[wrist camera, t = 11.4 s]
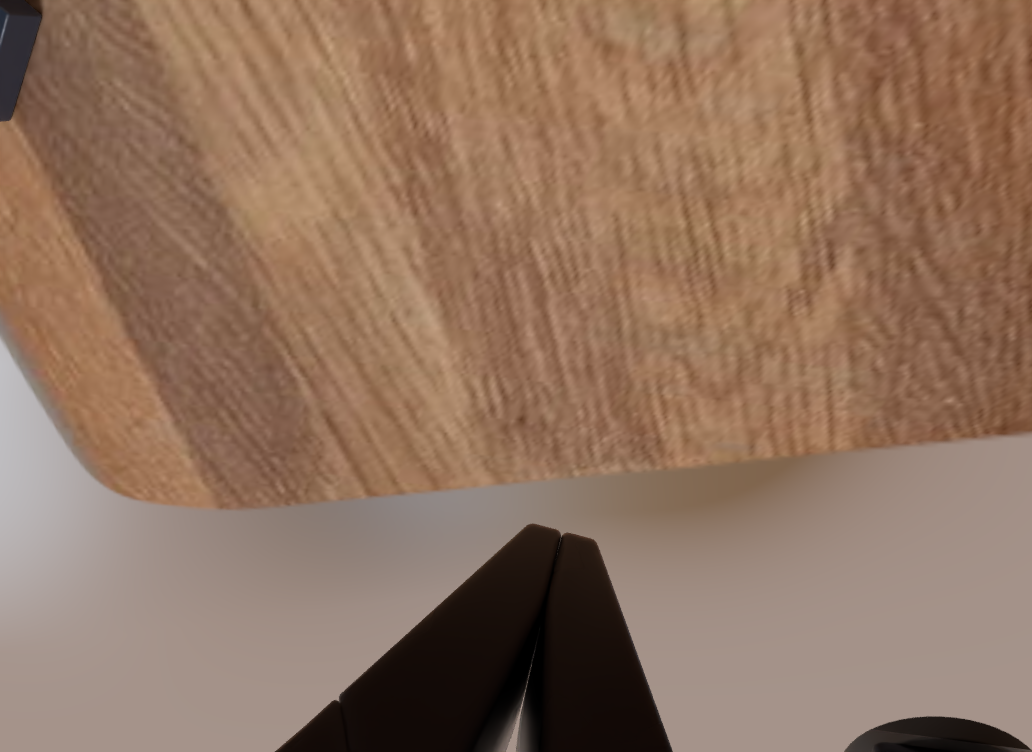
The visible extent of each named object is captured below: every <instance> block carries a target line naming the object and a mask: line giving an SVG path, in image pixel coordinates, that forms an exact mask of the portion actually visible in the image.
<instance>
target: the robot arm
mask: <svg viewBox="0 0 1032 752" xmlns="http://www.w3.org/2000/svg"><path fill="white" fill-rule="evenodd" d="M560 539H561V541H560ZM559 544H560V545H559ZM558 548H559V549H558ZM534 651H535V652H534ZM532 660H533V661H532ZM531 664H532V665H531ZM530 668H531V670H530ZM529 672H530V674H529ZM528 677H529V678H528ZM527 681H528V683H527ZM526 685H527V687H526ZM525 689H526V692H525ZM524 694H525V697H524ZM523 697H524V701H523ZM522 701H523V707H522V711H521V718H520V724H519V731H518V738H517V747H516V752H673V751H672V748H671V746H670V743H669V740H668V737H667V734H666V732H665V729H664V726H663V723H662V721H661V718H660V715H659V713H658V710H657V707H656V704H655V702H654V699H653V696H652V693H651V691H650V688H649V685H648V682H647V680H646V677H645V674H644V672H643V668H642V666H641V663H640V660H639V658H638V655H637V652H636V650H635V647H634V644H633V641H632V638H631V636H630V633H629V630H628V627H627V624H626V622H625V619H624V616H623V614H622V611H621V608H620V605H619V603H618V600H617V597H616V594H615V592H614V589H613V586H612V583H611V580H610V578H609V575H608V572H607V569H606V567H605V564H604V561H603V559H602V556H601V553H600V550H599V548H598V545H597V543H596V542H595V541H594V540H593V539H590V538H587V537H583V536H579V535H575V534H571V533H565V534H563V535H562V537H561V534H560V532H559V531H558V530H556V529H552V528H548V527H545V526H540V525H537V524H529V525H527V526H526V527H525V528H524V529H523V530H521V531H520V532H519V533H518V534H517V535H516V536H515V537H514V538H513V539H511V540H510V541H509V542H508V543H507V544H506V545H505V546H504V547H503V548H501V550H499V551H498V552H497V553H496V554H495V555H494V556H493V557H492V558H491V559H489V560H488V561H487V562H486V563H485V564H484V565H483V566H482V567H481V568H479V569H478V570H477V571H476V572H475V573H474V574H473V575H472V576H471V577H470V578H469V579H467V580H466V581H465V582H464V583H463V584H462V585H461V586H460V587H458V588H457V589H456V590H455V591H454V592H453V593H452V594H451V595H450V596H448V598H446V599H445V600H444V601H443V602H442V603H441V604H440V605H438V606H437V607H436V608H435V609H434V610H433V611H432V612H431V613H430V614H429V615H427V616H426V617H425V618H424V619H423V620H422V621H421V622H420V623H419V624H418V625H416V626H415V627H414V628H413V629H412V630H411V631H410V632H409V633H408V634H406V635H405V636H404V637H403V638H402V639H401V640H400V641H399V642H398V643H397V644H395V645H394V646H393V647H392V648H391V649H390V650H389V651H388V652H387V653H386V654H384V655H383V656H382V657H381V658H380V659H379V660H378V661H377V662H376V663H374V665H372V666H371V667H370V668H369V669H368V670H367V671H366V672H364V673H363V674H362V675H361V676H360V677H359V678H358V679H357V680H356V681H355V682H353V683H352V684H351V685H350V686H349V687H348V688H347V689H346V690H345V691H344V692H342V693H341V694H340V696H339V701H336V700H334V701H332V702H331V703H330V704H329V705H328V706H327V707H326V708H324V709H323V710H322V711H321V712H320V713H319V714H318V715H317V716H316V717H315V718H313V719H312V720H311V721H310V722H309V723H308V724H307V725H306V726H304V727H303V728H302V729H301V730H300V731H299V732H298V733H296V734H295V735H294V736H293V737H292V738H290V739H289V740H288V741H287V742H286V743H285V744H283V745H282V746H281V747H280V748H279V749H278V750H276V751H275V752H506V750H507V747H508V744H509V741H510V739H511V736H512V733H513V730H514V727H515V724H516V721H517V718H518V715H519V712H520V708H521V704H522ZM871 752H956V751H948V750H941V749H934V748H926V747H919V746H911V745H904V744H896V743H889V742H881V743H877V744H875V745H874V746H873V748H872V751H871Z"/></svg>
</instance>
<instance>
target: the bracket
mask: <svg viewBox="0 0 1032 752" xmlns="http://www.w3.org/2000/svg"><path fill="white" fill-rule="evenodd" d="M41 18H42V15H41V14H40V13H39V12H37V11H36V10H35V9H34V8H33V7H32V6H30V5H29V4H28V3H27V2H26V1H24V0H0V122H1V121H9V120H11V117H12V114H13V111H14V107H15V104H16V101H17V97H18V94H19V91H20V87H21V84H22V81H23V78H24V74H25V71H26V68H27V64H28V61H29V58H30V54H31V51H32V48H33V44H34V41H35V38H36V35H37V31H38V28H39V25H40V21H41Z"/></svg>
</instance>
